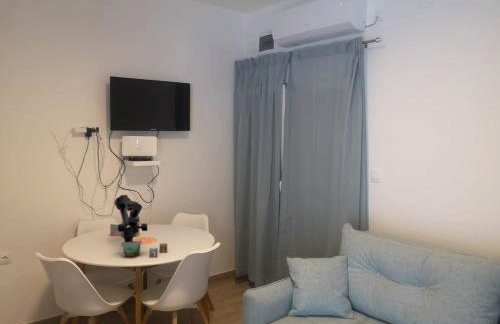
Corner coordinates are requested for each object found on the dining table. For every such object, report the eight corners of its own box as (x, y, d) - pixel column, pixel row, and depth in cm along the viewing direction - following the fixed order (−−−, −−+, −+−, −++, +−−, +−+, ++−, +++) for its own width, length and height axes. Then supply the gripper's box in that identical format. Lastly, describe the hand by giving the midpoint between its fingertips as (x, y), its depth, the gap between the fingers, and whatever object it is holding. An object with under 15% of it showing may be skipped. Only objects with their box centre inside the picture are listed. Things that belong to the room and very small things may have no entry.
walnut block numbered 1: (159, 250, 255) (159, 243, 255) (167, 250, 256) (167, 243, 256) (159, 253, 250) (159, 245, 250) (166, 252, 251) (167, 245, 251)
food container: (121, 258, 237) (121, 243, 237) (122, 255, 243) (122, 240, 243) (141, 257, 240) (141, 242, 239) (141, 254, 246) (141, 239, 245)
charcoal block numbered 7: (149, 255, 245) (149, 247, 245) (157, 254, 246) (157, 247, 246) (149, 257, 240) (149, 250, 240) (157, 257, 241) (157, 249, 241)
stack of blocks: (110, 235, 288) (110, 220, 287) (113, 233, 295) (113, 218, 294) (136, 237, 286) (136, 221, 285) (139, 235, 293) (139, 219, 292)
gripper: (118, 212, 244) (115, 233, 234) (147, 211, 248) (145, 232, 238) (119, 221, 252) (117, 241, 242) (148, 220, 256) (146, 240, 246)
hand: (131, 238), depth 242 cm, fingers closed
